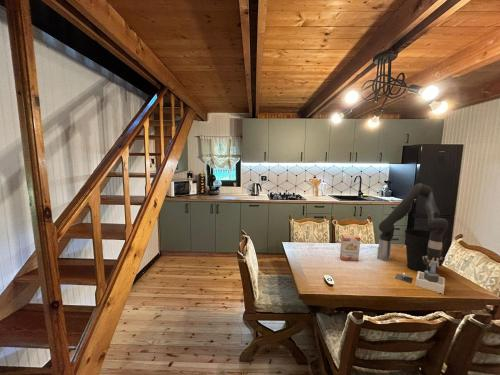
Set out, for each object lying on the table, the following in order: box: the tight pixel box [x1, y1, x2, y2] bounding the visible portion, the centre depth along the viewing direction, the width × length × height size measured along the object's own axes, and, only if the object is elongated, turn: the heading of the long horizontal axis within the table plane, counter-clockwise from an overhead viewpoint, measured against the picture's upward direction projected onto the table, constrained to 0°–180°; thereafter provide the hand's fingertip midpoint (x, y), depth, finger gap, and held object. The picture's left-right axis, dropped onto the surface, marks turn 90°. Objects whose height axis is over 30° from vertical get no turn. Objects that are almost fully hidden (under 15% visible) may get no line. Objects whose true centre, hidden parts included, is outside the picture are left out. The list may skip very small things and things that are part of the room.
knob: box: [424, 260, 440, 282], centre depth 164 cm, size 6×6×14 cm
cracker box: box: [339, 234, 361, 262], centre depth 205 cm, size 14×6×21 cm, turn 84°
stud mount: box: [394, 272, 414, 284], centre depth 174 cm, size 10×10×5 cm
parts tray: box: [415, 271, 446, 295], centre depth 165 cm, size 15×15×6 cm
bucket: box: [404, 227, 448, 273], centre depth 190 cm, size 27×28×30 cm
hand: (431, 271), depth 164 cm, fingers closed on knob, 3 cm apart
